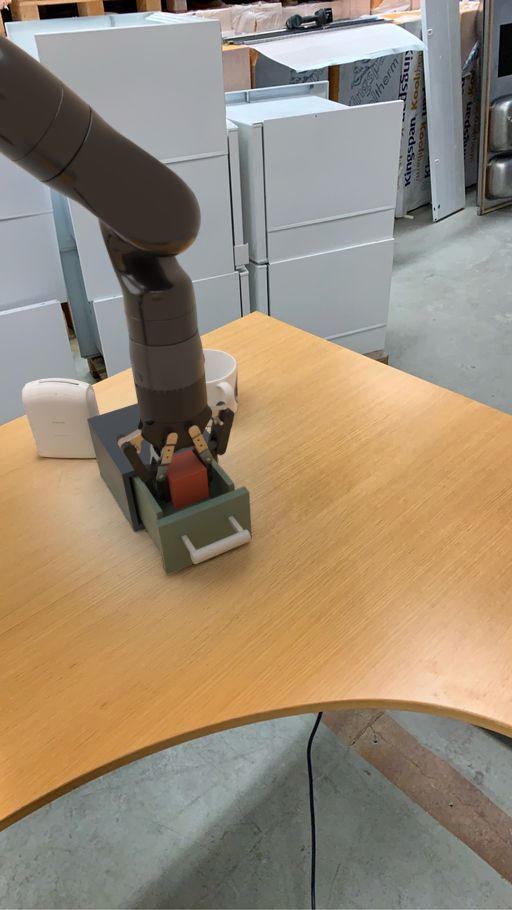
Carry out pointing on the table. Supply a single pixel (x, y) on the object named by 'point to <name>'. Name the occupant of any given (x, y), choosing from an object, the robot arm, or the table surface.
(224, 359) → the mug
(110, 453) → the cabinet
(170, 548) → the drawer
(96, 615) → the table surface
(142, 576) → the table surface
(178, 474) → the block
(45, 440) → the photo printer
